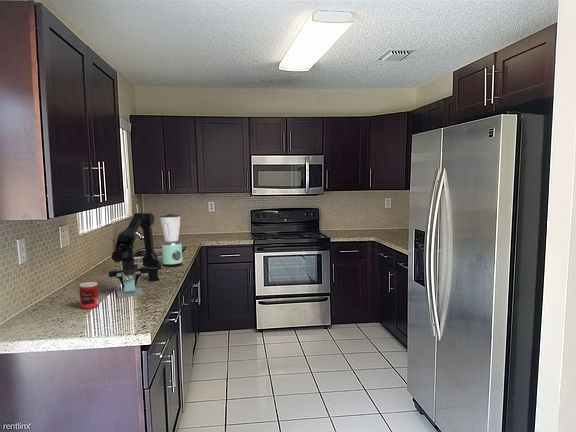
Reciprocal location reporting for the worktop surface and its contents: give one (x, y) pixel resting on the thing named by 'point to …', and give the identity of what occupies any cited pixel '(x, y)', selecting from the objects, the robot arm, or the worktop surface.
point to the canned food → (89, 295)
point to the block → (129, 285)
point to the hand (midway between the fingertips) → (129, 287)
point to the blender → (171, 240)
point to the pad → (129, 293)
